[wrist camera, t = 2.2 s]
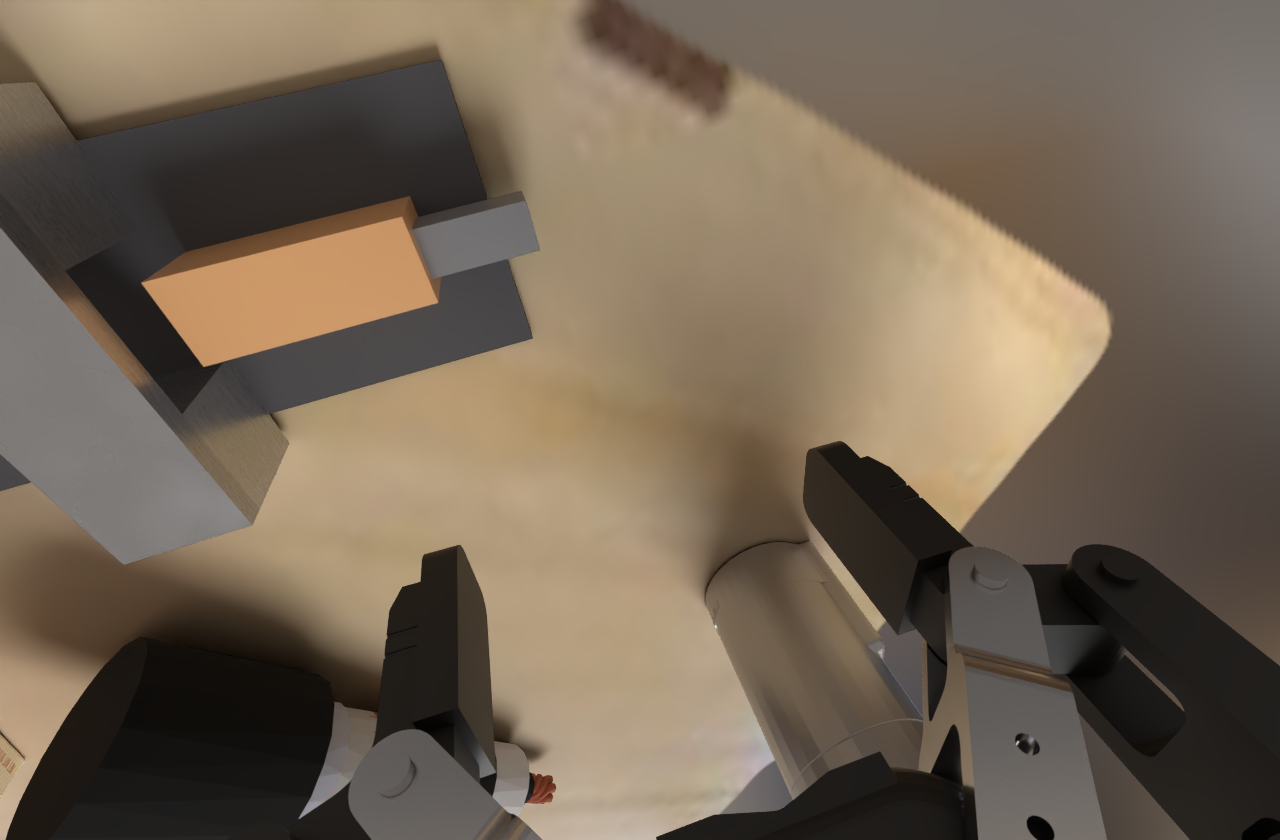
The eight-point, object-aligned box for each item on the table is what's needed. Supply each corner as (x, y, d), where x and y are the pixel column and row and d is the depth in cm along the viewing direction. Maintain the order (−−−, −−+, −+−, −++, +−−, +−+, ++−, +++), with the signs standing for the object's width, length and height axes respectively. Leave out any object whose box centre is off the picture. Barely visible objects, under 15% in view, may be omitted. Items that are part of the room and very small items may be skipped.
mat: (441, 59, 21) (441, 59, 21) (531, 334, 28) (532, 338, 28) (-472, 262, 18) (-493, 267, 18) (-116, 519, 25) (-125, 526, 24)
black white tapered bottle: (517, 726, 54) (496, 856, 48) (106, 646, 33) (-21, 863, 27) (596, 724, 49) (583, 867, 43) (173, 627, 28) (35, 888, 22)
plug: (514, 169, 24) (522, 186, 21) (537, 247, 26) (547, 272, 23) (185, 252, 22) (141, 282, 19) (236, 327, 24) (203, 367, 21)
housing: (35, 82, 18) (-117, 89, 14) (289, 443, 27) (252, 525, 23) (-131, 116, 18) (-351, 137, 13) (184, 473, 27) (123, 564, 22)
